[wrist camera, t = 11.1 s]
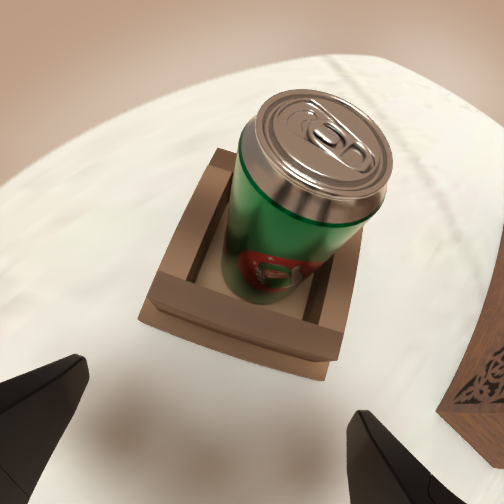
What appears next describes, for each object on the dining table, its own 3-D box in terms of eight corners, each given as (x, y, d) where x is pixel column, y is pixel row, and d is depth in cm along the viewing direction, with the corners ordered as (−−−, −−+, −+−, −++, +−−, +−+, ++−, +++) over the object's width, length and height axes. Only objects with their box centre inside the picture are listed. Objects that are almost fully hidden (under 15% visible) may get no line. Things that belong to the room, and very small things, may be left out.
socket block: (318, 380, 18) (349, 382, 14) (140, 321, 17) (121, 308, 13) (352, 225, 22) (380, 195, 18) (207, 173, 22) (208, 133, 18)
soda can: (257, 216, 20) (308, 67, 9) (313, 266, 19) (422, 151, 8) (203, 266, 18) (203, 123, 7) (263, 322, 18) (357, 248, 7)
